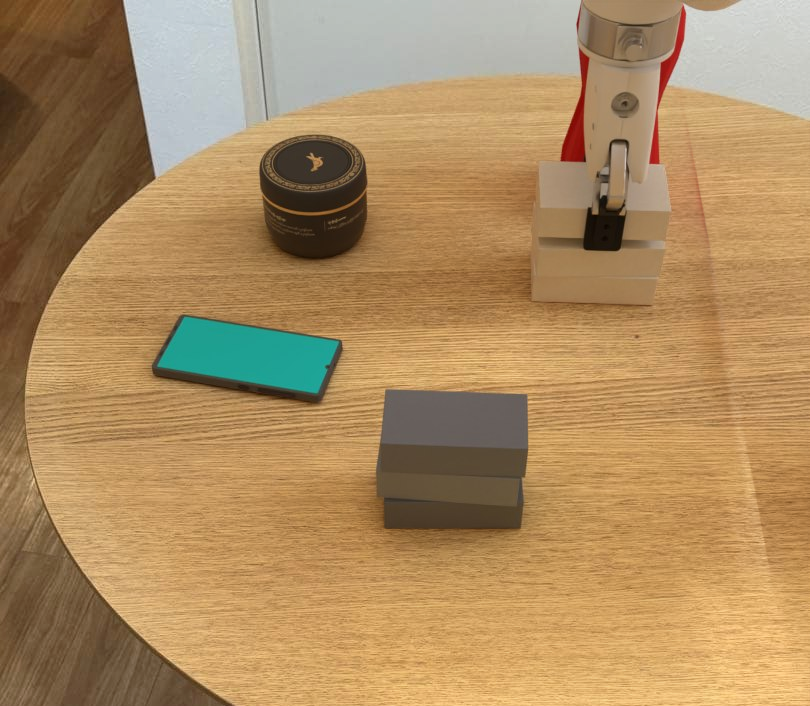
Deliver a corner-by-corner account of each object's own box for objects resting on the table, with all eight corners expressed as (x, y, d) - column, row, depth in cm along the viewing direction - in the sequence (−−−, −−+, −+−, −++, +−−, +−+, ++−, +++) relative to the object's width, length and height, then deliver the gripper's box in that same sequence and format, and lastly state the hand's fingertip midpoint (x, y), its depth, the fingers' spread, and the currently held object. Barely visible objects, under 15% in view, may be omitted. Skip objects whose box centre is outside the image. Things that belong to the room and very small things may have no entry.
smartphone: (180, 313, 103) (343, 339, 100) (182, 321, 103) (343, 347, 101) (149, 368, 98) (319, 397, 96) (151, 375, 99) (319, 404, 96)
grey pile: (520, 474, 91) (529, 391, 84) (520, 534, 88) (530, 451, 81) (382, 469, 92) (380, 385, 85) (377, 528, 88) (374, 445, 81)
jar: (333, 190, 116) (329, 120, 110) (389, 239, 111) (388, 169, 105) (247, 223, 113) (238, 153, 107) (299, 276, 107) (293, 206, 101)
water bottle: (643, 161, 119) (689, -95, 100) (656, 225, 112) (708, -38, 93) (554, 160, 119) (582, -96, 100) (561, 224, 112) (593, -39, 93)
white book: (658, 193, 104) (664, 164, 101) (665, 241, 99) (671, 211, 97) (535, 190, 104) (538, 160, 102) (537, 237, 100) (540, 207, 97)
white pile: (648, 256, 109) (659, 201, 105) (655, 307, 104) (666, 252, 100) (528, 252, 110) (533, 197, 105) (529, 303, 105) (534, 248, 100)
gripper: (689, 86, 83) (649, 285, 96) (667, -26, 94) (634, 167, 107) (584, 83, 83) (559, 282, 97) (574, -29, 94) (553, 165, 108)
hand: (599, 220), depth 102 cm, fingers closed on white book, 7 cm apart
